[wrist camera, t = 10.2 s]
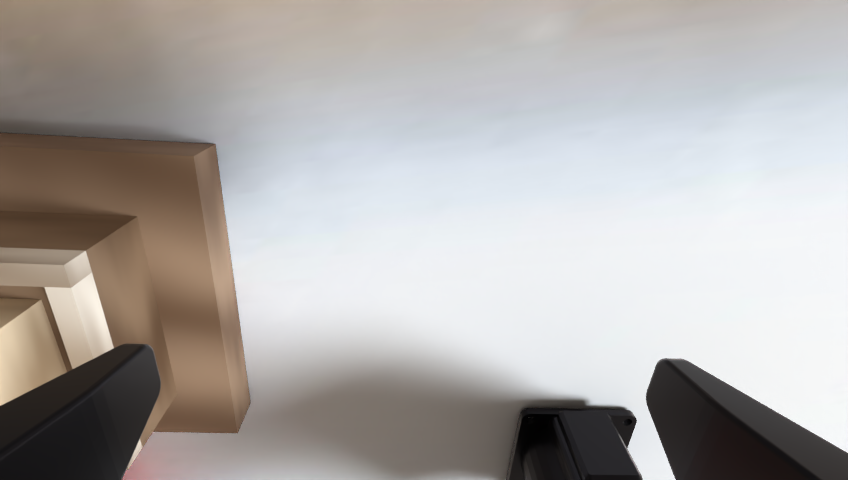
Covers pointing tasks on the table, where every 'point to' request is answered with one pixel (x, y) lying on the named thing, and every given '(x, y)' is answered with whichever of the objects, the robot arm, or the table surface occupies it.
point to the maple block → (26, 348)
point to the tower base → (129, 264)
